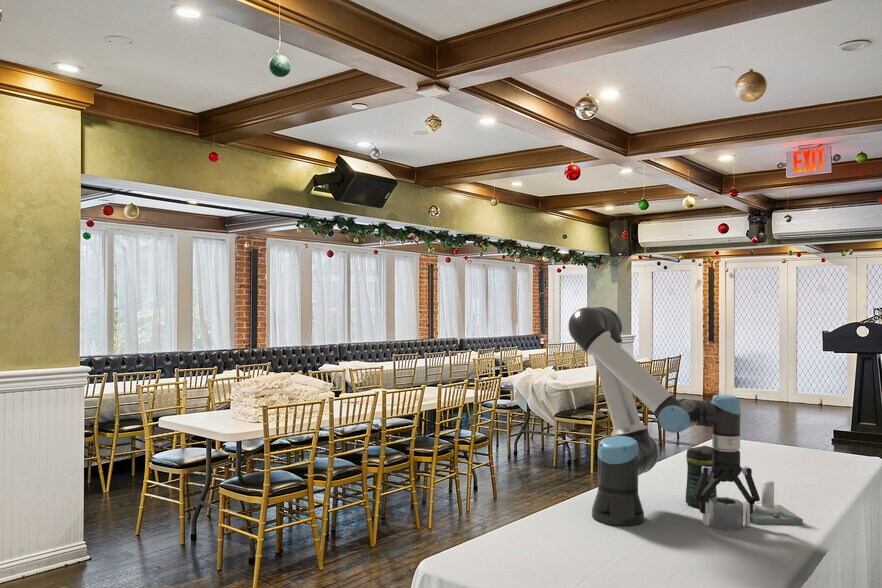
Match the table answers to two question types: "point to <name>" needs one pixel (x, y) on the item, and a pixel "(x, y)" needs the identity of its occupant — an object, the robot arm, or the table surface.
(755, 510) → the stand
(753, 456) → the table surface
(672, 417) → the robot arm
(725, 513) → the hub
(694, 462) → the coffee jar
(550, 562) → the table surface
